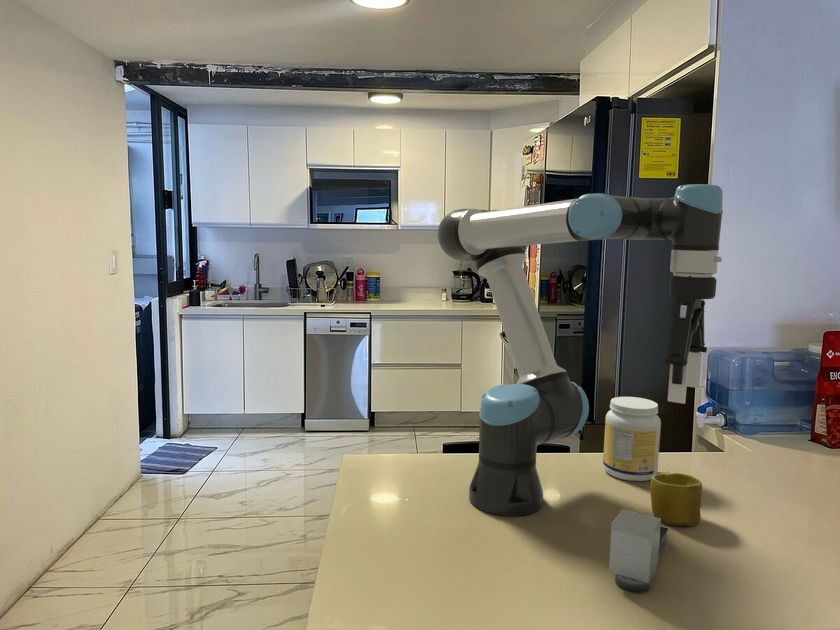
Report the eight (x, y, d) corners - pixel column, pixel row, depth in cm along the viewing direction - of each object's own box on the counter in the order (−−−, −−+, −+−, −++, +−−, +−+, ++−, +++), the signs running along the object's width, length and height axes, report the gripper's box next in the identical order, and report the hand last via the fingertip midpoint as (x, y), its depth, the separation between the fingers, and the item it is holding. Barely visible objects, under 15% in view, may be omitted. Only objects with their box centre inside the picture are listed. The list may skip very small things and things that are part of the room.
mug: (717, 525, 116) (701, 471, 117) (660, 536, 118) (645, 483, 119) (705, 510, 127) (690, 461, 129) (653, 520, 130) (639, 472, 131)
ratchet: (643, 535, 115) (646, 501, 115) (673, 543, 113) (676, 508, 112) (611, 586, 98) (613, 547, 97) (645, 597, 95) (648, 556, 95)
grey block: (608, 571, 98) (611, 522, 97) (619, 555, 103) (622, 508, 102) (648, 583, 95) (652, 533, 94) (657, 566, 100) (660, 518, 99)
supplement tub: (612, 459, 154) (616, 392, 152) (663, 471, 147) (668, 401, 145) (594, 474, 145) (598, 403, 142) (648, 487, 137) (653, 412, 135)
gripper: (704, 279, 97) (694, 413, 100) (726, 273, 118) (717, 383, 120) (654, 277, 101) (645, 405, 104) (684, 271, 122) (676, 378, 124)
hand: (684, 394), depth 112 cm, fingers open, 13 cm apart
